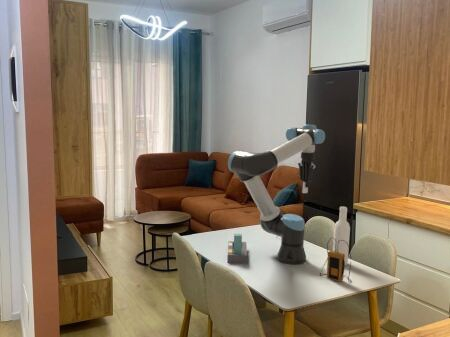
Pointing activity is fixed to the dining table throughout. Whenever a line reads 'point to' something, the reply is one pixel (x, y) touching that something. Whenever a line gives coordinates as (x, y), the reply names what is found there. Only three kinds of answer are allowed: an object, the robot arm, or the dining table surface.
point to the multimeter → (336, 264)
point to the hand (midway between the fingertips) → (304, 192)
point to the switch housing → (234, 257)
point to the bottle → (342, 234)
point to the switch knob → (237, 244)
